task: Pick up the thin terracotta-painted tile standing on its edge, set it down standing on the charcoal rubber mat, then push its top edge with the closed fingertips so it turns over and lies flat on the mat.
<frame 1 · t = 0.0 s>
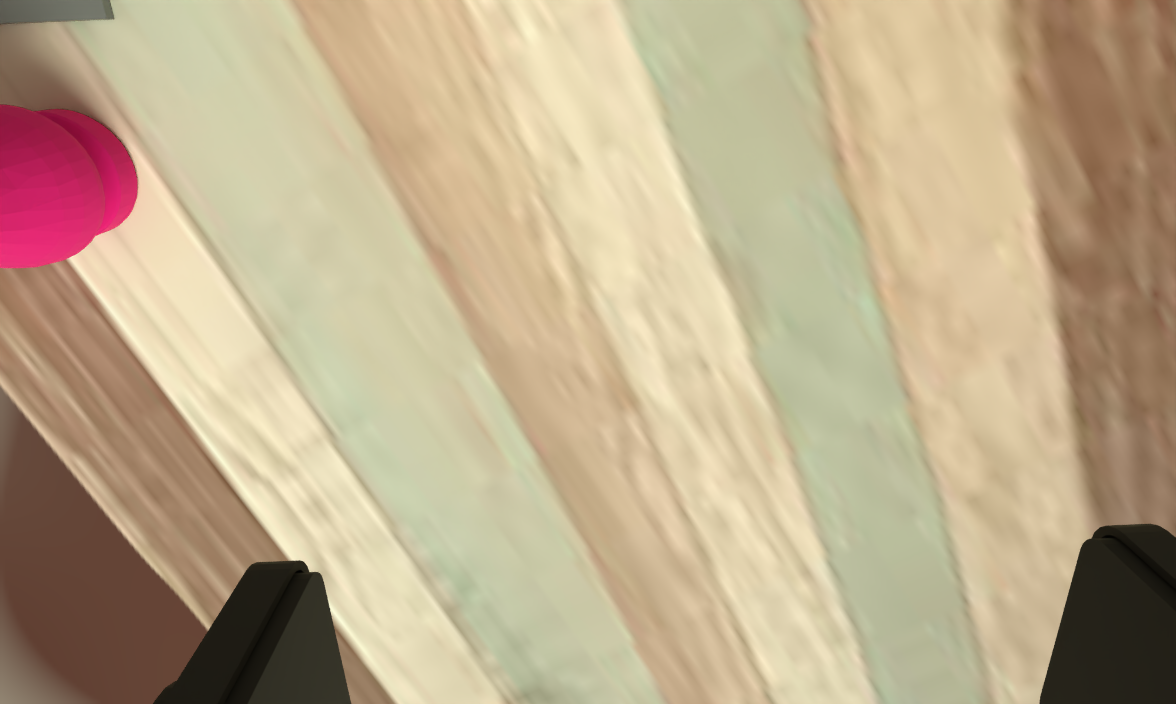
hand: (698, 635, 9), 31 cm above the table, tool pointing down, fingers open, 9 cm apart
pepper mill: (78, 172, 37), on the table
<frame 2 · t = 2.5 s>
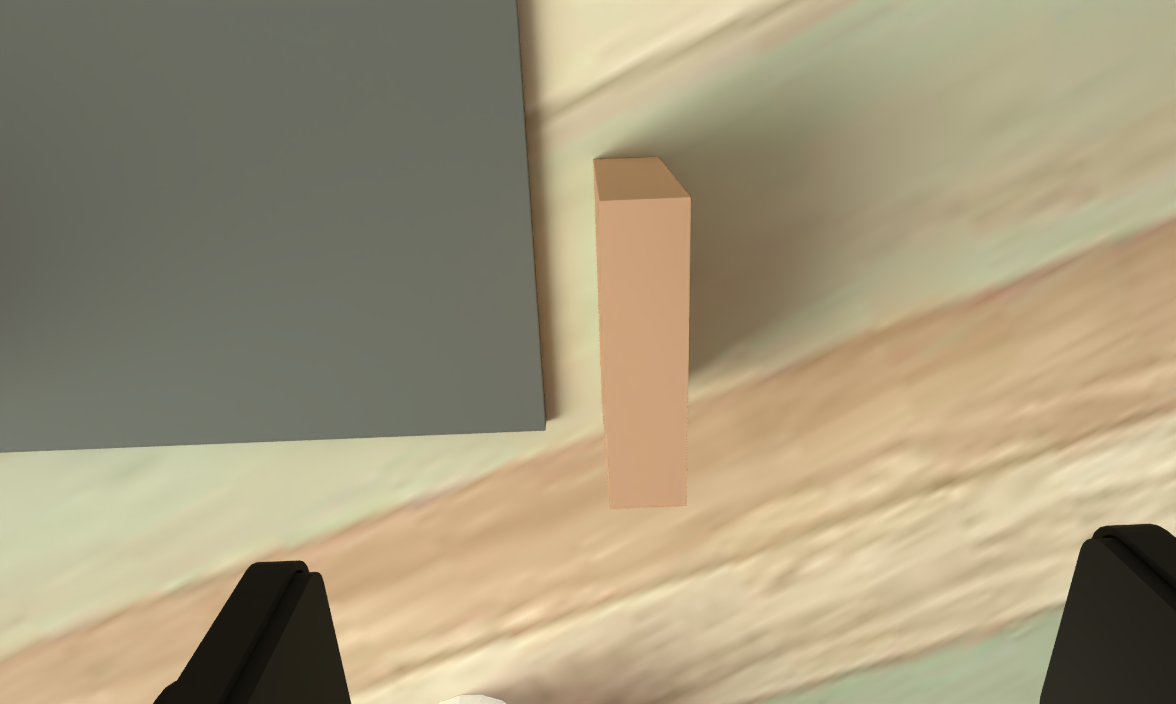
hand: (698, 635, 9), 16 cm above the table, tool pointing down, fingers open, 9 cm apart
tile: (627, 282, 24), on the table
mat: (218, 239, 23), on the table
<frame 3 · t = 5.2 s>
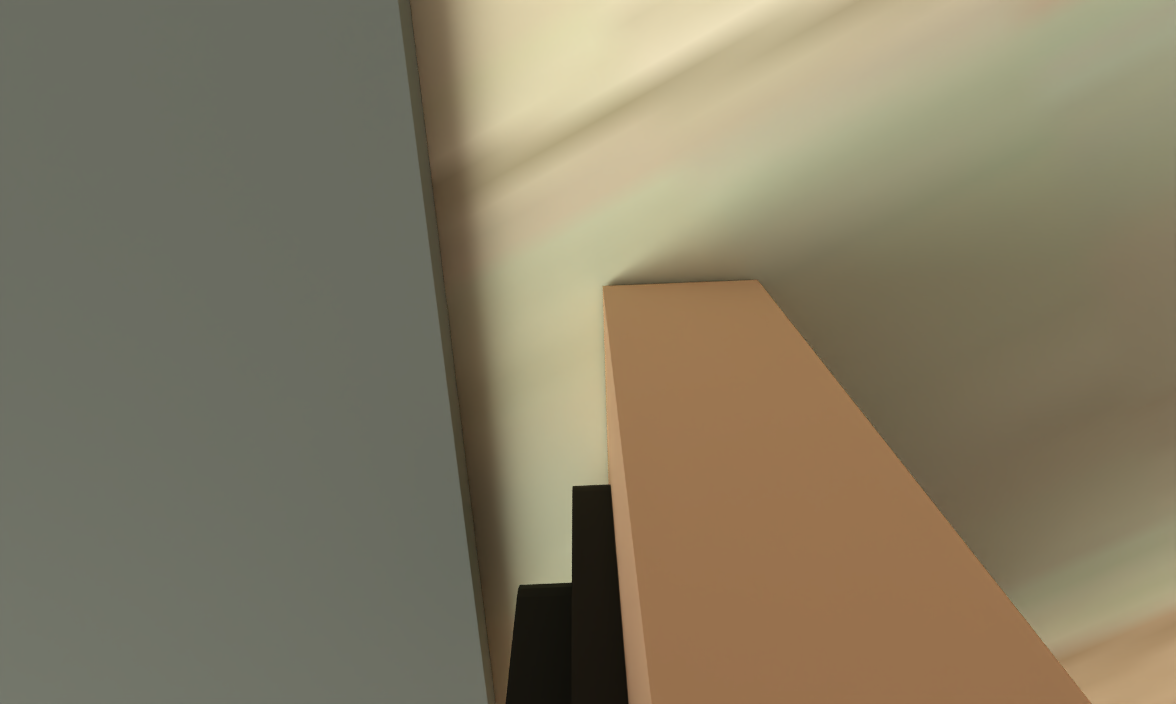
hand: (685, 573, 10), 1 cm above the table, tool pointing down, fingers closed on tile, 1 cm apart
tile: (676, 537, 11), on the table, touching gripper
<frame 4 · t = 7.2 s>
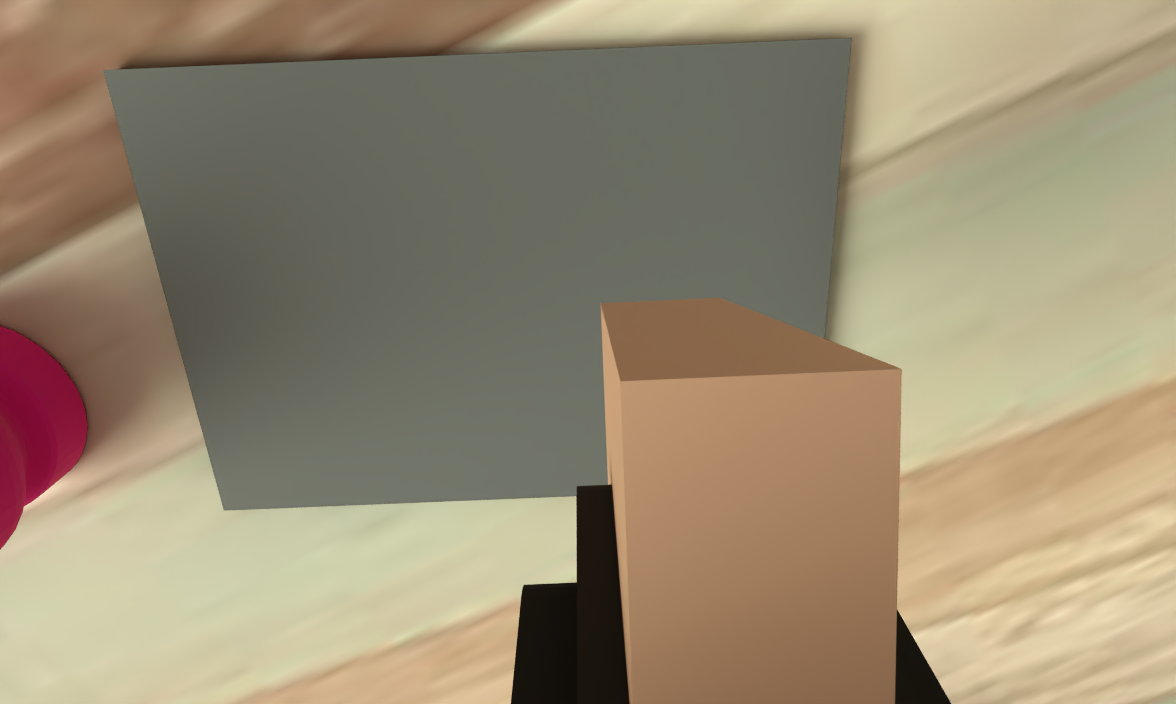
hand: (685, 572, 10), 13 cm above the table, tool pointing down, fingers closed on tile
tile: (667, 529, 13), point 11 cm above the table, tilted 14°, touching gripper
mat: (501, 297, 23), on the table
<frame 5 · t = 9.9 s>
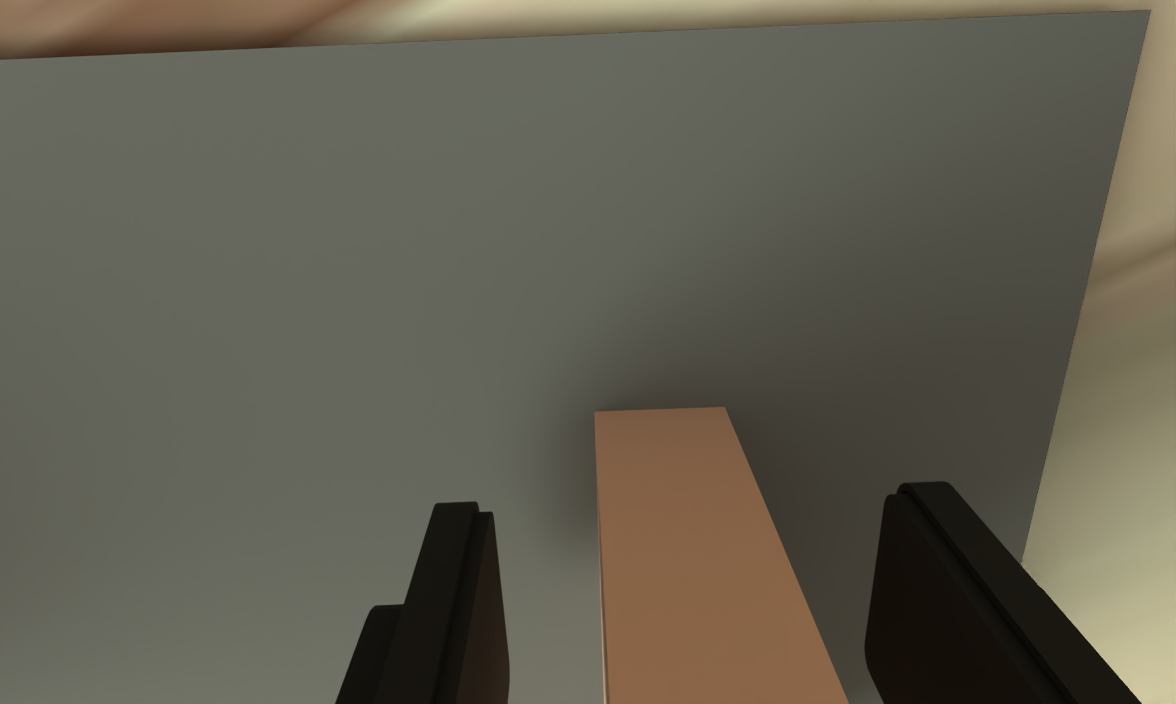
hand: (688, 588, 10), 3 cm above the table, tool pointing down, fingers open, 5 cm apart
tile: (658, 613, 13), point 1 cm above the table, touching mat
mat: (430, 491, 12), on the table
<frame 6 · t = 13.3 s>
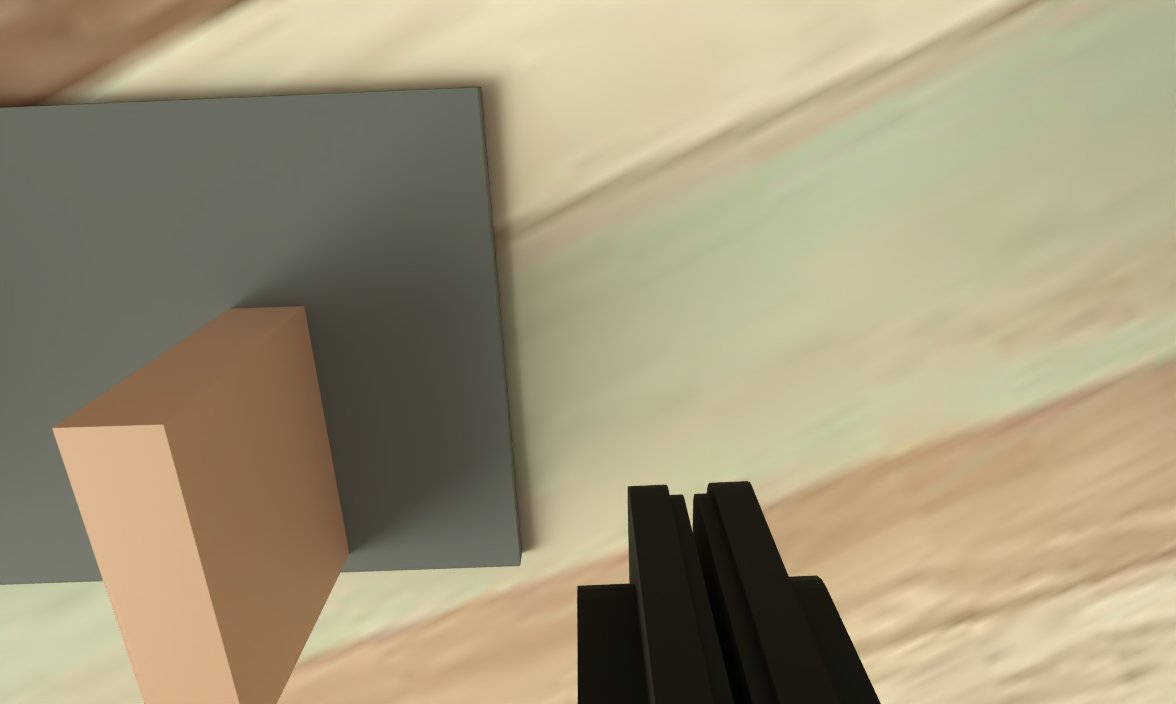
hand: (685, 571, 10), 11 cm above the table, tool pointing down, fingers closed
tile: (293, 439, 21), point 1 cm above the table, touching mat
mat: (154, 362, 21), on the table
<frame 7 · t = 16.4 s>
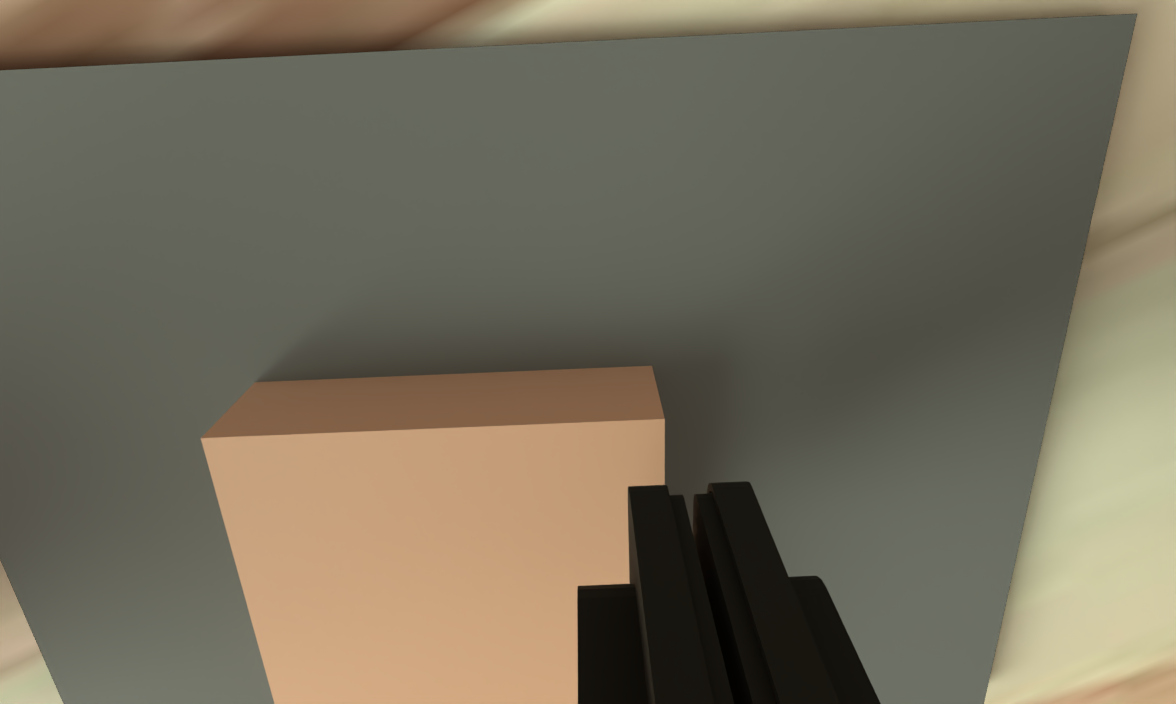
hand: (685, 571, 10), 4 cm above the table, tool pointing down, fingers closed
tile: (658, 585, 13), point 2 cm above the table, tilted 90°, touching mat
mat: (506, 440, 14), on the table
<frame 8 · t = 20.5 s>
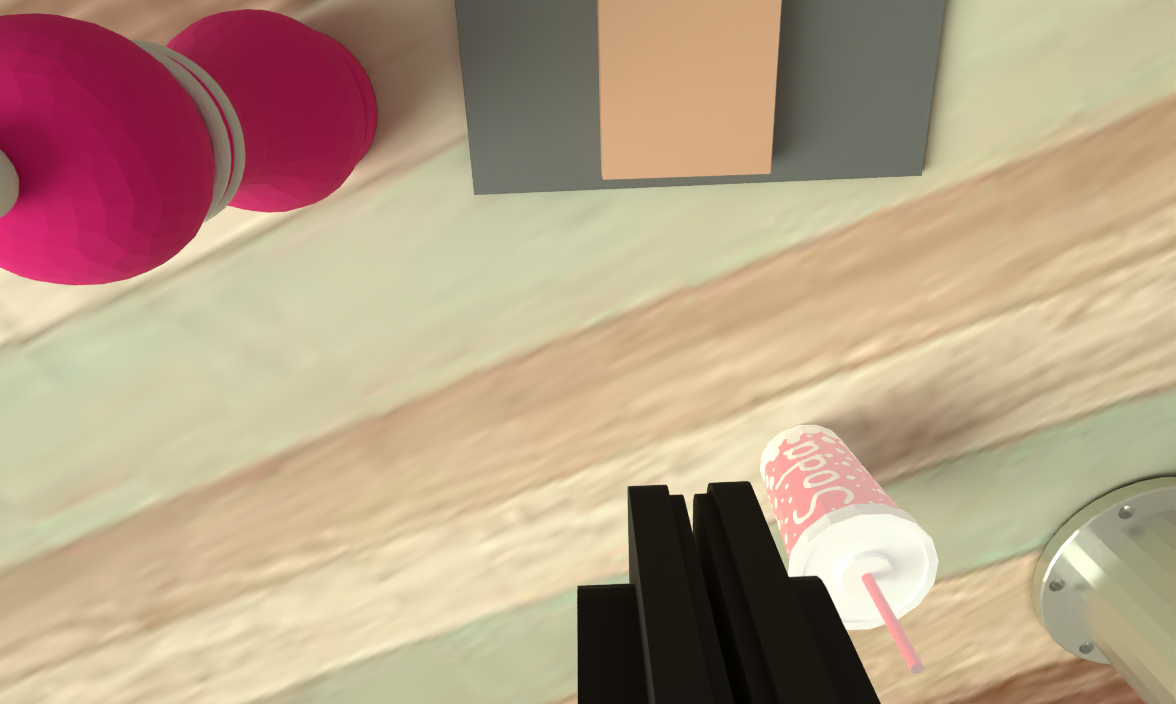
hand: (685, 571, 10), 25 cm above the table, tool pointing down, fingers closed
tile: (770, 70, 30), point 2 cm above the table, tilted 90°, touching mat
mat: (698, 13, 30), on the table
pepper mill: (307, 106, 32), on the table
beverage cup: (802, 460, 39), on the table
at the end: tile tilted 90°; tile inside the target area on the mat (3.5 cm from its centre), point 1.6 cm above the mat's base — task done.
